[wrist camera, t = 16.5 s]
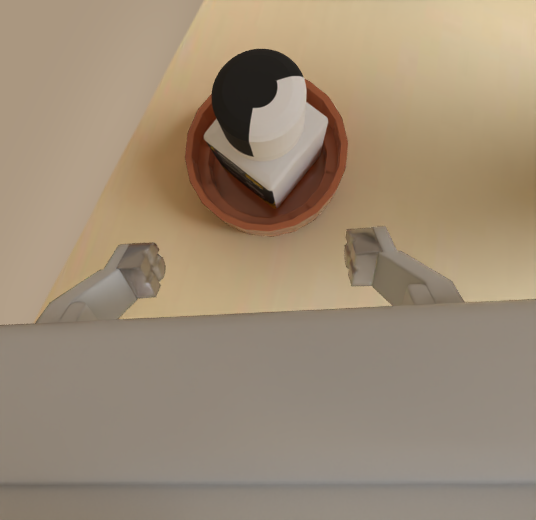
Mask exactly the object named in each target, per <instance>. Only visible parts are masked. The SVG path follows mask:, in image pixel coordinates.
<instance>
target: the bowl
mask: <svg viewBox="0 0 536 520" xmlns="http://www.w3.org/2000/svg"><path fill="white" fill-rule="evenodd" d="M304 80H305V84H306V90H307V93H306V102H307V103H308V104H310V105H311V106H312V107H314V108H315V109H316V110H318V111H319V112H321V113H322V114H323V115H325V116H326V117H327V118H328V124H327V129H326V133H325V137H324V141H323V146H322V150H321V154H320V156H319V158H318V159H317V160H316V161H315V163H314V164H313V165H312V166H311V168H310V169H309V170H308V171H307V172H306V174H305V175H304V176H303V177H302V179H301V180H300V181H299V182H298V184H297V185H296V186H295V187H294V188H293V190H292V191H291V192H290V193H289V195H288V196H287V197H286V198H285V200H284V201H283V202H282V203H281V204H280V206H279V207H278V208H276V209H274V208H273V207H271V206H270V205H269V204H267V203H266V202H265V201H264V200H262V199H261V198H260V197H259V196H257V195H256V194H255V193H254V192H252V191H251V190H250V189H249V188H247V187H246V186H245V185H244V184H242V183H241V182H240V181H239V180H237V179H236V178H235V177H234V176H232V175H231V174H230V173H229V172H227V171H226V170H225V169H224V168H223V167H222V165H221V164H220V162H219V161H218V159H217V158H216V156H215V155H214V153H213V152H212V150H211V149H210V147H209V146H208V144H207V143H206V141H205V140H204V134H205V132H206V131H207V130H208V129H209V127H210V126H211V125H212V124H213V122H214V121H215V120H216V116H215V114H214V111H213V107H212V98H211V96H212V94H211V95H210V96H209V97H208V99H207V100H206V101H205V102H204V103H203V104H202V106H201V107H200V108H199V109H198V111H197V113H196V115H195V117H194V120H193V122H192V124H191V127H190V129H189V131H188V135H187V144H186V154H185V160H186V165H187V169H188V174H189V179H190V182H191V184H192V186H193V188H194V189H195V191H196V193H197V195H198V196H199V198H200V200H201V202H202V203H203V204H204V205H205V206H206V207H207V208H208V209H210V210H211V211H212V212H213V213H214V214H215V215H216V216H218V217H219V218H220V219H221V220H222V221H224V222H225V223H226V224H228V225H229V226H231V227H233V228H235V229H238V230H240V231H242V232H245V233H247V234H250V235H258V236H270V237H272V236H273V237H274V236H278V235H282V234H287V233H291V232H295V231H297V230H298V229H300V228H302V227H303V226H305V225H307V224H309V223H310V222H312V221H314V220H315V219H316V218H317V217H318V215H319V214H320V213H321V212H322V211H323V210H324V209H325V207H326V206H327V205H328V204H329V203H330V201H331V199H332V197H333V196H334V194H335V192H336V190H337V187H338V185H339V183H340V180H341V178H342V176H343V173H344V171H345V168H346V159H347V147H348V141H347V137H346V133H345V128H344V124H343V120H342V117H341V115H340V114H339V112H338V111H337V109H336V108H335V106H334V105H333V103H332V101H331V100H330V98H329V97H328V96H327V95H326V94H325V93H323V92H322V91H321V90H320V89H318V88H317V87H316V86H315V85H313V84H312V83H311V82H310V81H308V80H306V79H304Z"/></svg>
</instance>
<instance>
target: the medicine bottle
mask: <svg viewBox="0 0 536 520" xmlns="http://www.w3.org/2000/svg"><path fill="white" fill-rule="evenodd" d="M306 93H307V90H306V84H305V80H304V77H303V75H302V73H301V71H300V69H299V68H298V66H297V65H296V64H295V63H294V62H293V61H292V60H291V59H290V58H289V57H287V56H285V55H284V54H282V53H279V52H277V51H274V50H269V49H253V50H249V51H245V52H243V53H241V54H238V55H237V56H235V57H233V58H232V59H231V60H230V61H228V62H227V63H226V64H225V65H224V66H223V68H222V69H221V70H220V72H219V73H218V75H217V77H216V79H215V82H214V84H213V88H212V96H211V98H212V107H213V111H214V114H215V116H216V120H215V121H214V122H213V124H212V125H211V126H210V127H209V129H208V130H207V131H206V132H205V134H204V140H205V141H206V143H207V144H208V146H209V147H210V149H211V150H212V152H213V153H214V155H215V156H216V158H217V159H218V161H219V162H220V164H221V165H222V167H223V168H224V169H225V170H226V171H227V172H229V173H230V174H231V175H232V176H234V177H235V178H236V179H237V180H239V181H240V182H241V183H242V184H244V185H245V186H246V187H247V188H249V189H250V190H251V191H252V192H254V193H255V194H256V195H257V196H259V197H260V198H261V199H262V200H264V201H265V202H266V203H267V204H269V205H270V206H271V207H273V208H274V209H276V208H278V207H279V206H280V204H281V203H282V202H283V201H284V200H285V198H286V197H287V196H288V195H289V193H290V192H291V191H292V190H293V188H294V187H295V186H296V185H297V184H298V182H299V181H300V180H301V179H302V177H303V176H304V175H305V174H306V172H307V171H308V170H309V169H310V168H311V166H312V165H313V164H314V163H315V161H316V160H317V159H318V158H319V156H320V154H321V150H322V146H323V141H324V137H325V133H326V129H327V124H328V118H327V117H326V116H325V115H323V114H322V113H321V112H319V111H318V110H316V109H315V108H314V107H312V106H311V105H310V104H308V103H307V102H306Z"/></svg>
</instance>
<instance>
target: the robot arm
mask: <svg viewBox="0 0 536 520" xmlns="http://www.w3.org/2000/svg"><path fill="white" fill-rule="evenodd" d="M346 241H347V244H346V245H345V249H344V258H345V264H346V267H347V268H348V269H349V272H348V276H349V280H350V283H351V286H372V287H373V288H374V289H375V290H376V291H377V292H378V293H380V294H381V295H382V296H383V297H384V298H385V299H386V300H387V301H388V302H389V303H390V304H391V305H392V306H383V307H363V308H344V309H323V310H302V311H281V312H260V313H240V314H220V315H200V316H180V317H159V318H138V319H118V318H119V317H120V316H121V315H122V314H123V313H124V312H125V311H126V310H127V309H128V308H129V307H130V306H131V305H132V304H133V303H134V302H135V301H136V300H137V299H138V298H150V297H156V296H157V294H158V291H159V288H160V286H161V285H160V283H159V281H160V280H162V279H163V278H164V275H165V268H166V266H165V262H164V259H163V257H161V256H160V255H159V254H158V251H159V248H158V247H157V245H156V244H155V243H132V244H121V245H118V246H117V248H116V250H115V251H114V253H113V255H112V256H111V258H110V260H109V261H108V263H107V264H106V266H105V268H104V269H103V270H99V271H97V272H96V273H94V274H93V275H91V276H90V277H88V278H87V279H85V280H84V281H82V282H81V283H79V284H78V285H76V286H75V287H73V288H72V289H70V290H68V291H67V292H65V293H64V294H62V295H61V296H59V297H58V298H56V299H55V300H53V301H52V302H50V303H49V305H48V306H47V307H46V309H45V310H44V312H43V313H42V314H41V316H40V317H39V319H38V320H37V321H36V323H35V324H15V325H0V520H536V299H526V300H506V301H486V302H464V300H463V299H462V297H461V295H460V294H459V292H458V290H457V289H456V287H455V285H454V284H453V282H452V281H451V280H449V279H447V278H446V277H444V276H442V275H441V274H439V273H437V272H436V271H434V270H432V269H431V268H429V267H427V266H426V265H424V264H422V263H421V262H419V261H417V260H415V259H414V258H412V257H410V256H409V255H407V254H405V253H404V252H402V251H397V249H396V247H395V245H394V243H393V241H392V239H391V237H390V235H389V232H388V230H387V228H386V227H385V226H377V227H371V228H357V229H347V231H346ZM117 319H118V320H117Z"/></svg>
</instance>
